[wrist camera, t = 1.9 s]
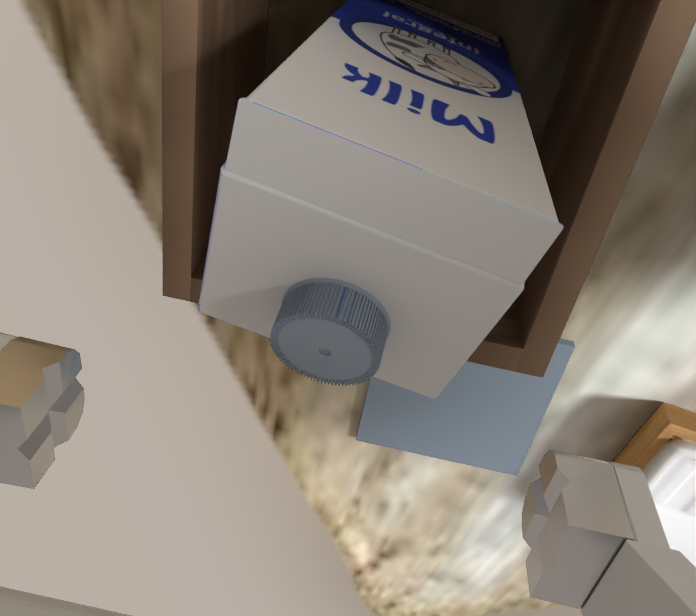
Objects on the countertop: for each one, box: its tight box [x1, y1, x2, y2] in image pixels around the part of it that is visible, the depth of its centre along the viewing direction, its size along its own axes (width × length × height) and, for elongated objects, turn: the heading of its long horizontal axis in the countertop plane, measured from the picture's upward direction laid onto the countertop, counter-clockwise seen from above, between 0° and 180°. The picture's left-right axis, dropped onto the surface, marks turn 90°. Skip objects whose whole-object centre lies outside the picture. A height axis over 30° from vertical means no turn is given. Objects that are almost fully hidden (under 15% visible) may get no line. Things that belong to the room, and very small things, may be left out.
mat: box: [356, 339, 575, 476], centre depth 41 cm, size 11×11×1 cm
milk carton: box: [198, 0, 563, 399], centre depth 23 cm, size 7×7×20 cm
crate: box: [162, 0, 696, 378], centre depth 27 cm, size 16×16×10 cm
